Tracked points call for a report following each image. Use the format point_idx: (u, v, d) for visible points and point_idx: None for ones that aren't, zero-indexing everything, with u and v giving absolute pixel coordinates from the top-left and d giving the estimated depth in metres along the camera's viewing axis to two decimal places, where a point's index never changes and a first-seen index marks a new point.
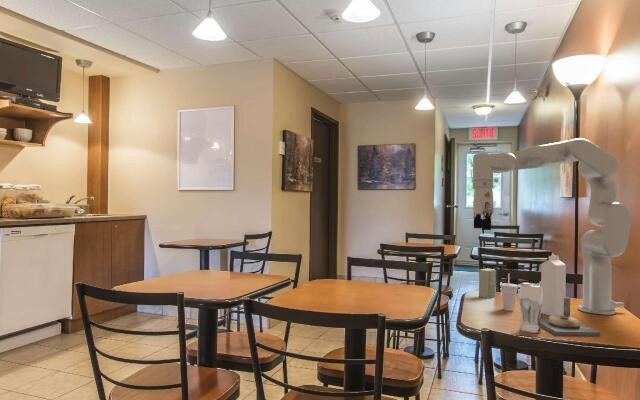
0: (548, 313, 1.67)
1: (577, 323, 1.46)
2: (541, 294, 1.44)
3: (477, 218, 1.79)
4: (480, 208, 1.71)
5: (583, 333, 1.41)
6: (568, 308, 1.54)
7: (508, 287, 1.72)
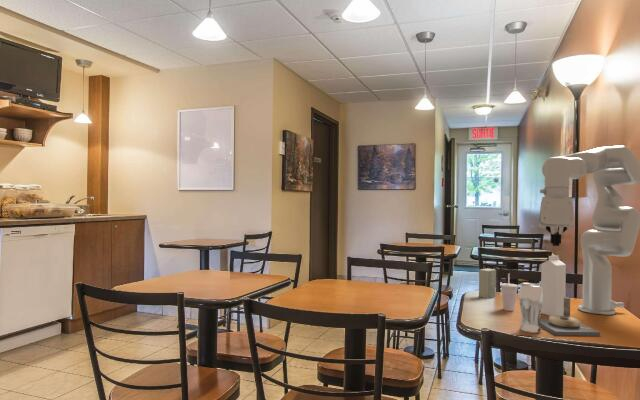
0: (548, 313, 1.67)
1: (577, 323, 1.46)
2: (541, 294, 1.44)
3: (556, 234, 1.56)
4: None
5: (583, 333, 1.41)
6: (568, 308, 1.54)
7: (508, 287, 1.72)
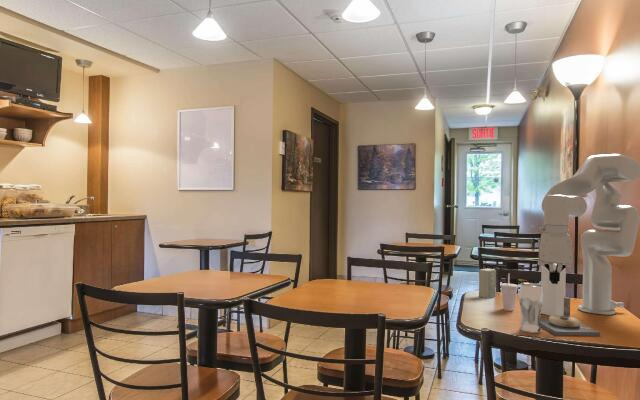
0: (548, 313, 1.67)
1: (577, 323, 1.46)
2: (541, 294, 1.44)
3: (555, 271, 1.56)
4: None
5: (583, 333, 1.41)
6: (568, 308, 1.54)
7: (508, 287, 1.72)
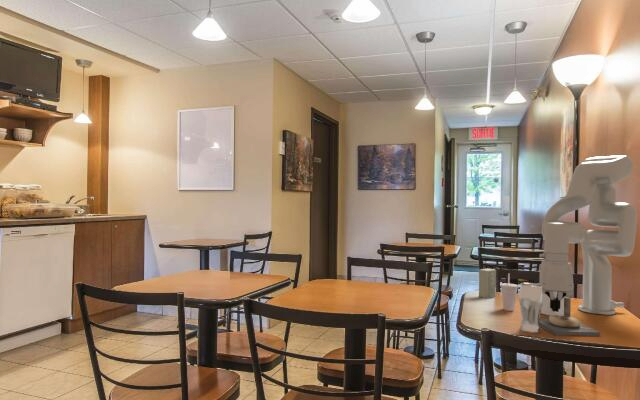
0: (548, 313, 1.67)
1: (577, 323, 1.46)
2: (541, 294, 1.44)
3: (555, 299, 1.56)
4: None
5: (583, 333, 1.41)
6: (568, 308, 1.54)
7: (508, 287, 1.72)
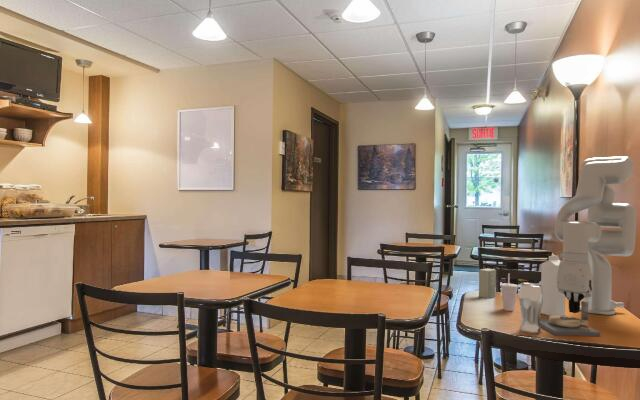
0: (548, 313, 1.67)
1: (563, 323, 1.46)
2: (541, 294, 1.44)
3: None
4: None
5: (583, 333, 1.41)
6: (583, 312, 1.48)
7: (508, 287, 1.72)
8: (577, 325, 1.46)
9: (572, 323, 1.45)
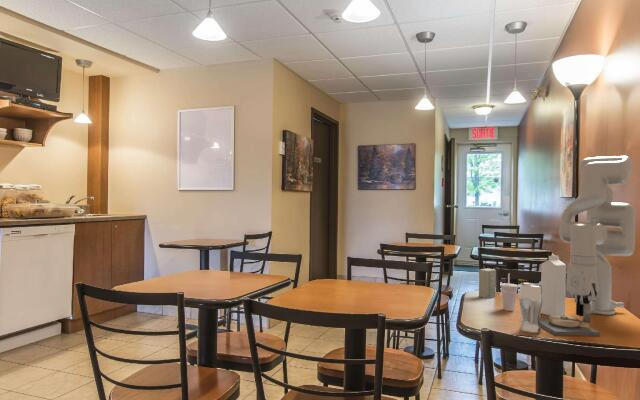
0: (548, 313, 1.67)
1: (555, 321, 1.47)
2: (541, 294, 1.44)
3: None
4: None
5: (583, 333, 1.41)
6: (584, 314, 1.46)
7: (508, 287, 1.72)
8: (571, 325, 1.45)
9: (564, 322, 1.45)
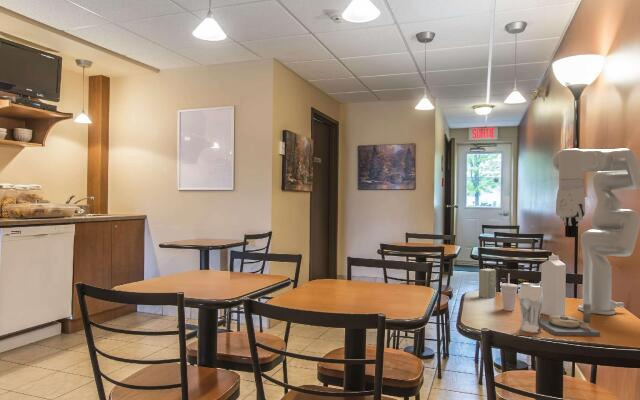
0: (548, 313, 1.67)
1: (555, 321, 1.47)
2: (541, 294, 1.44)
3: None
4: None
5: (583, 333, 1.41)
6: (584, 314, 1.46)
7: (508, 287, 1.72)
8: (571, 325, 1.45)
9: (564, 322, 1.45)
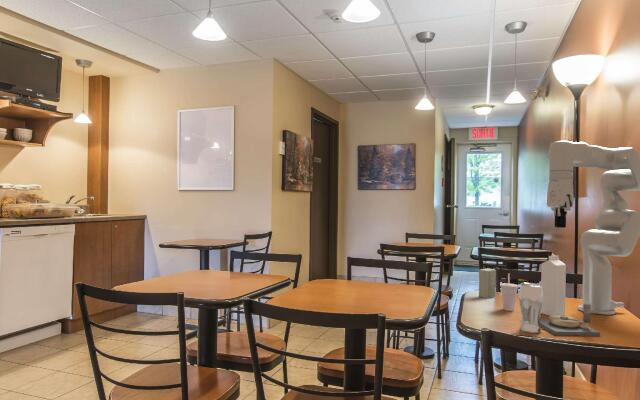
0: (548, 313, 1.67)
1: (555, 321, 1.47)
2: (541, 294, 1.44)
3: None
4: None
5: (583, 333, 1.41)
6: (584, 314, 1.46)
7: (508, 287, 1.72)
8: (571, 325, 1.45)
9: (564, 322, 1.45)
